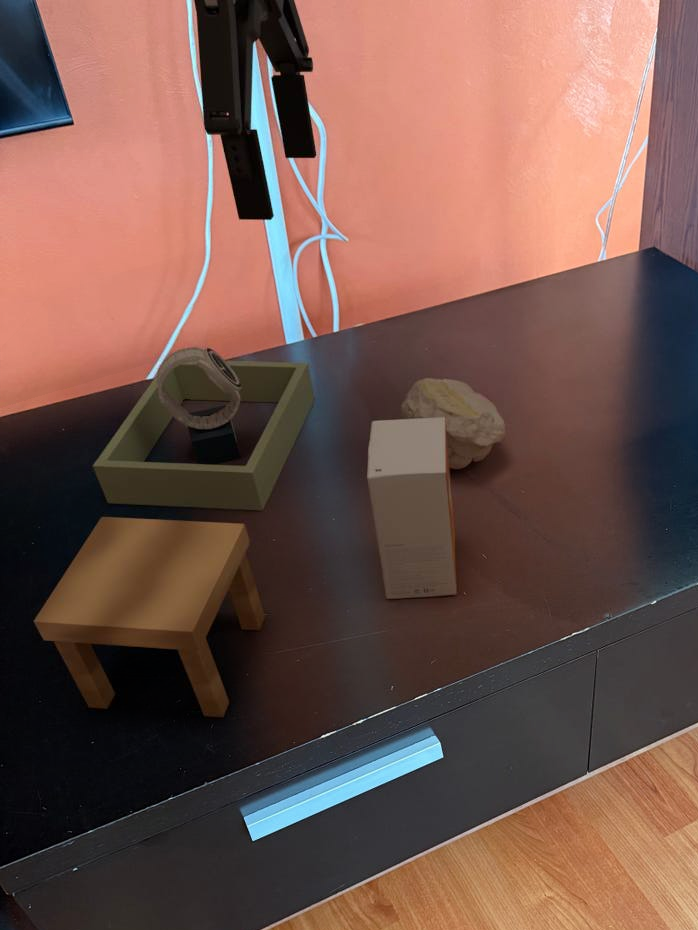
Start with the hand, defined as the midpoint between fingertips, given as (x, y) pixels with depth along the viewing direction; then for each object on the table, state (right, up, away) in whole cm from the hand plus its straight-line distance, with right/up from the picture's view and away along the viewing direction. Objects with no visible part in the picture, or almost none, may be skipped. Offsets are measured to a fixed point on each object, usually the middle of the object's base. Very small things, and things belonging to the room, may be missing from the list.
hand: (280, 186), depth 82 cm
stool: (-8, -41, -3) cm, 42 cm away
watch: (-10, -19, +18) cm, 28 cm away
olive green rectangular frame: (-10, -19, +18) cm, 28 cm away
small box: (+12, -33, +4) cm, 35 cm away
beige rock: (+14, -20, +16) cm, 29 cm away
